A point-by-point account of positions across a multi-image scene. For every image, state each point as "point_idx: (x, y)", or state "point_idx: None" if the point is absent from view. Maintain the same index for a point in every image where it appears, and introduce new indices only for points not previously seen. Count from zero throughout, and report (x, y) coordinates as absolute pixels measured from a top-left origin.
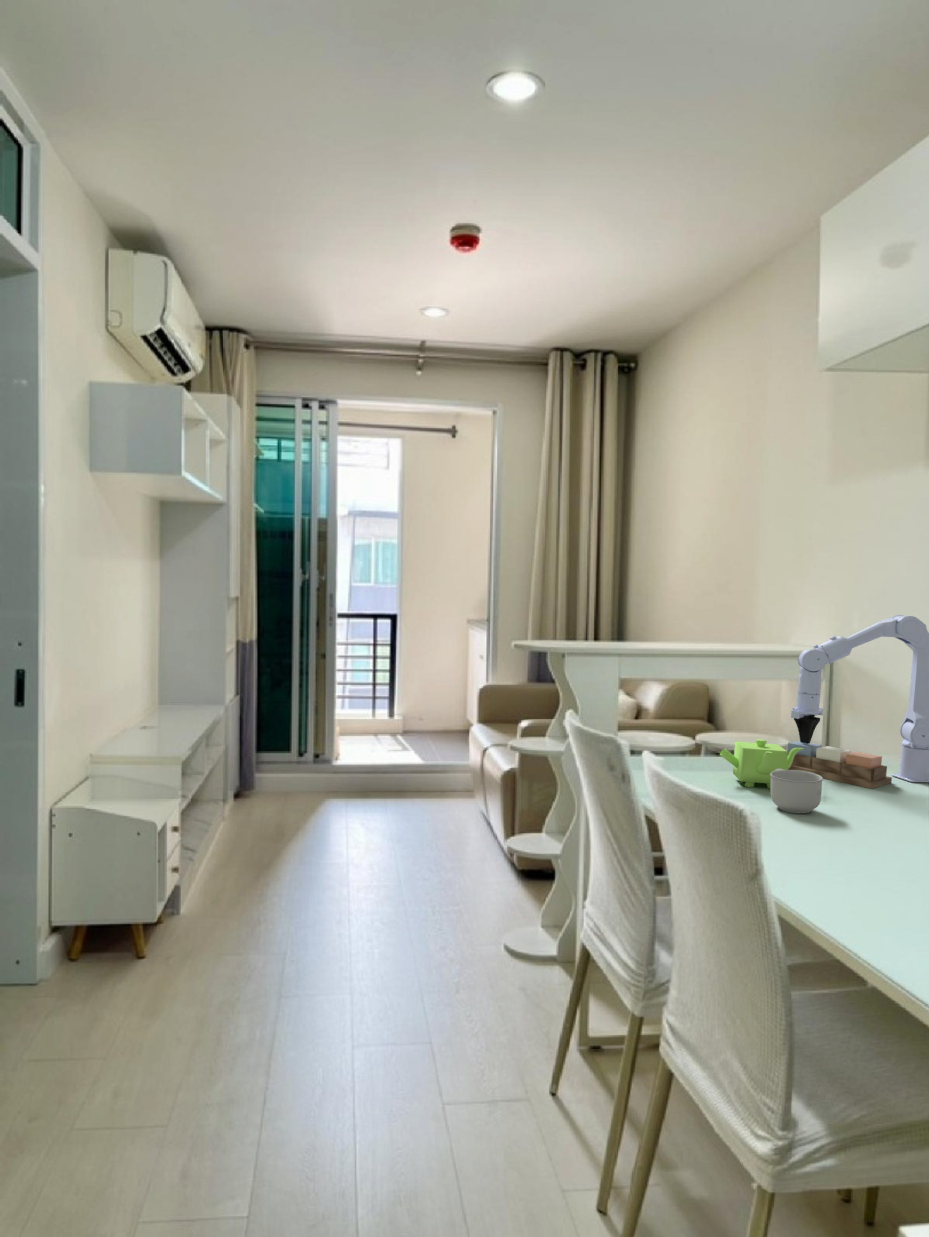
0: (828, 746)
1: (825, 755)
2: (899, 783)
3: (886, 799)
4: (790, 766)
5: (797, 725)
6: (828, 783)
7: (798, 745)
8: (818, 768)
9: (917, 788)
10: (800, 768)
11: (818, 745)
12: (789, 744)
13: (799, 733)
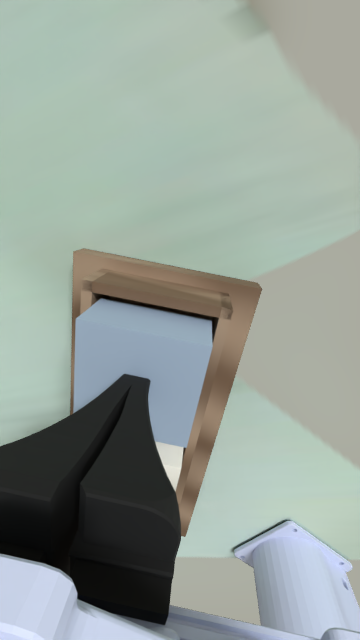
0: (176, 471)
1: None
2: (201, 531)
3: None
4: (73, 313)
5: (46, 432)
6: (28, 422)
7: (75, 369)
8: None
9: (177, 554)
10: (72, 348)
11: (157, 439)
12: (79, 323)
13: (96, 400)
